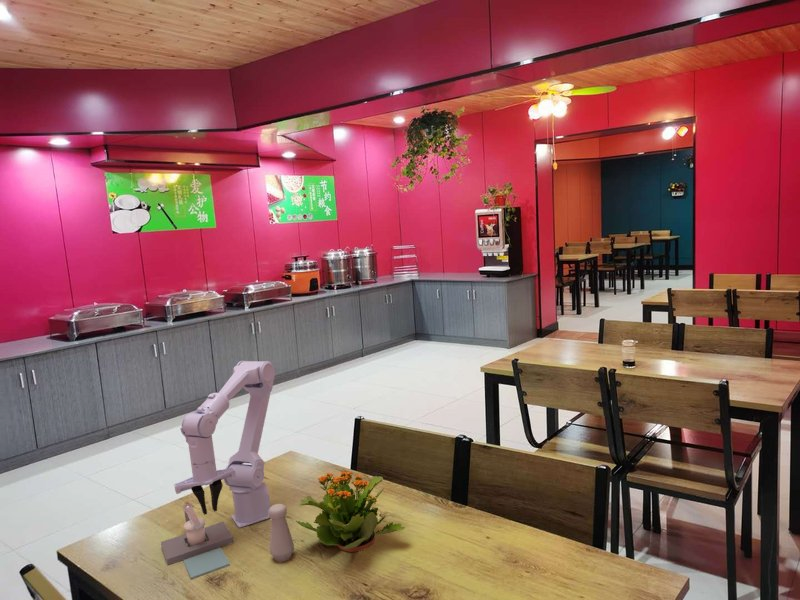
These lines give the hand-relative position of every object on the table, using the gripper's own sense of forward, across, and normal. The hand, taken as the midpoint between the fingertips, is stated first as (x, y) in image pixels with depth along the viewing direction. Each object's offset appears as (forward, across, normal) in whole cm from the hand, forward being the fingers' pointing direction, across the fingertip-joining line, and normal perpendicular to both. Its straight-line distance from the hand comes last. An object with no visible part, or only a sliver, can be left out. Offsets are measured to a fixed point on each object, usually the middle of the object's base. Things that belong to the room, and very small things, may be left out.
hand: (209, 511), depth 146 cm
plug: (+9, -4, +4) cm, 11 cm away
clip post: (+9, -4, +12) cm, 15 cm away
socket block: (+9, -4, +4) cm, 11 cm away
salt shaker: (+10, +12, -16) cm, 23 cm away
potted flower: (+10, +30, -22) cm, 38 cm away
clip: (+3, -3, +6) cm, 7 cm away
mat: (+9, -4, -7) cm, 12 cm away
